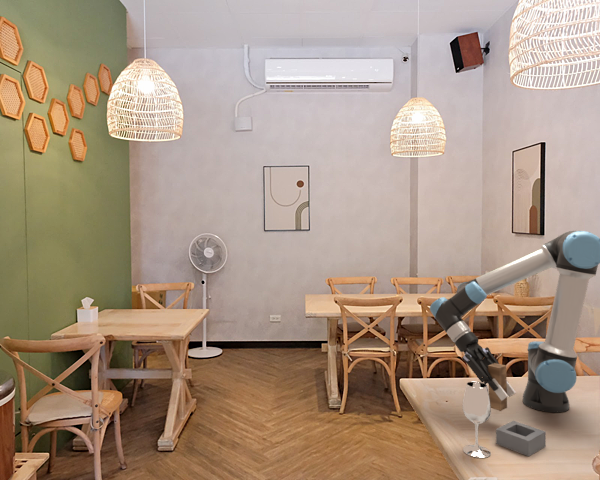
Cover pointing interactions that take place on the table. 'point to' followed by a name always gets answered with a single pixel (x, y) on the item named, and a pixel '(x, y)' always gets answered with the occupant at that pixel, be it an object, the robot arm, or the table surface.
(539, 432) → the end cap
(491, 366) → the wooden block
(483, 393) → the wineglass
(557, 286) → the robot arm
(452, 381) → the table surface
